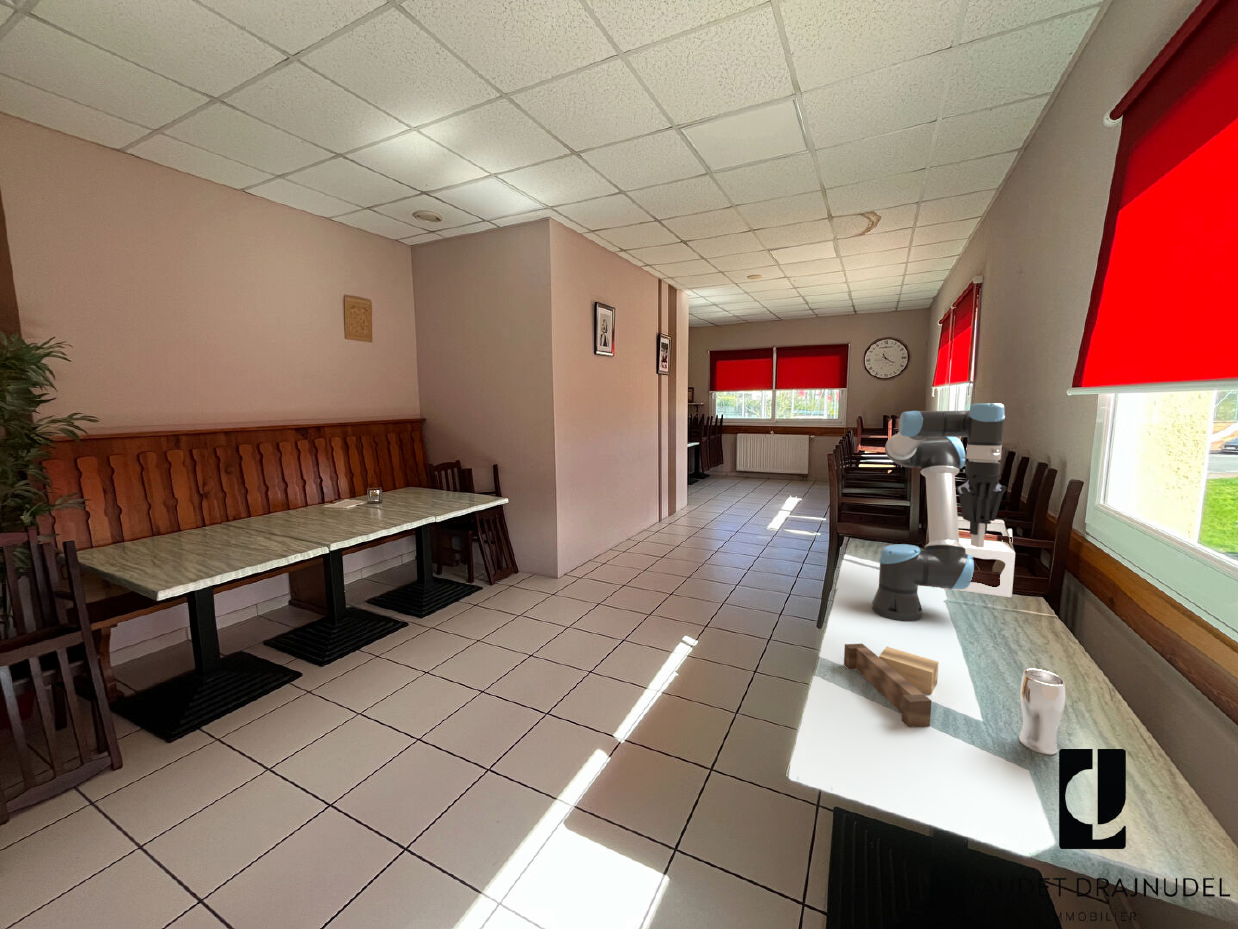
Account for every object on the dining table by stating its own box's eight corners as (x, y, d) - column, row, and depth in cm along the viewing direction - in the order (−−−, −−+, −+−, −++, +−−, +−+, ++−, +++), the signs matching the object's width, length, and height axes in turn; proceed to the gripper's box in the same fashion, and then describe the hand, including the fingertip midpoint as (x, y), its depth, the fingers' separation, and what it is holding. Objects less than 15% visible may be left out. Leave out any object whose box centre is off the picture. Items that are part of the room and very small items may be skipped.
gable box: (941, 588, 191) (946, 518, 188) (937, 578, 203) (941, 512, 200) (1012, 598, 181) (1018, 524, 178) (1004, 586, 193) (1009, 517, 190)
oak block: (885, 667, 133) (886, 646, 132) (937, 684, 125) (938, 661, 124) (877, 677, 128) (879, 656, 127) (931, 695, 120) (932, 672, 119)
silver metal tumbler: (1064, 761, 97) (1070, 689, 95) (1019, 748, 100) (1024, 679, 99) (1056, 741, 102) (1062, 673, 101) (1013, 730, 106) (1019, 664, 105)
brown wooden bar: (843, 665, 134) (844, 644, 133) (861, 664, 134) (862, 643, 134) (908, 727, 107) (909, 701, 107) (929, 726, 108) (931, 700, 107)
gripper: (971, 462, 127) (965, 550, 130) (1018, 461, 128) (1011, 549, 130) (949, 459, 134) (944, 543, 137) (994, 459, 135) (988, 541, 138)
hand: (977, 546), depth 134 cm, fingers closed
